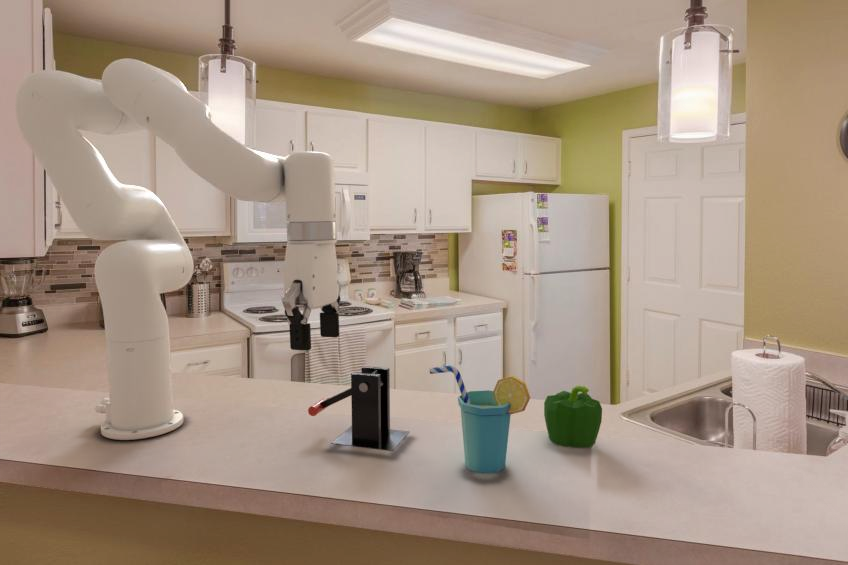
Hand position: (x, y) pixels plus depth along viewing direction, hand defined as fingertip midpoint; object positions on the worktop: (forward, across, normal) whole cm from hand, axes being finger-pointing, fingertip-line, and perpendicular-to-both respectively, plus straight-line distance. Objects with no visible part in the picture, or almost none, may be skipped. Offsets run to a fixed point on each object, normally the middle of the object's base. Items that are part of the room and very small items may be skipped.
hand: (316, 342), depth 90 cm
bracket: (+16, 0, +9) cm, 18 cm away
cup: (+16, +5, +27) cm, 32 cm away
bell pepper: (+17, -8, +39) cm, 43 cm away
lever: (+9, 0, +5) cm, 11 cm away
